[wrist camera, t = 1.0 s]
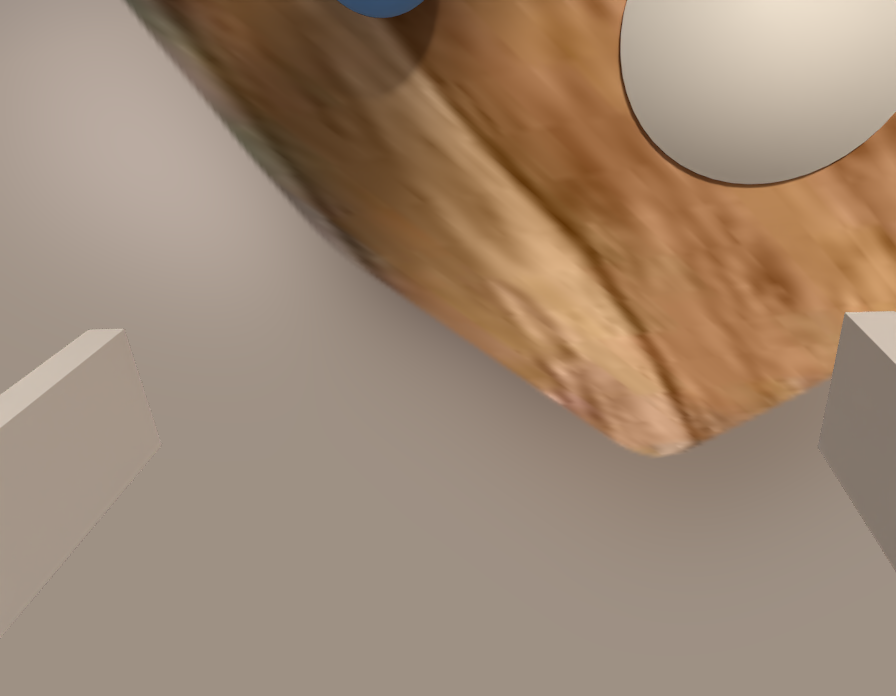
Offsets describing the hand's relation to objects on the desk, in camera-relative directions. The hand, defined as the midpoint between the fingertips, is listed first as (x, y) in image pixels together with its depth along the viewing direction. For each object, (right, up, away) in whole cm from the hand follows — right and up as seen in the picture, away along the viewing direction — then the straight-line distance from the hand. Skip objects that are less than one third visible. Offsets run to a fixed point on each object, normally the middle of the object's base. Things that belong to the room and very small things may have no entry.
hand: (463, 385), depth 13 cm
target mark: (+14, +14, +16) cm, 26 cm away
